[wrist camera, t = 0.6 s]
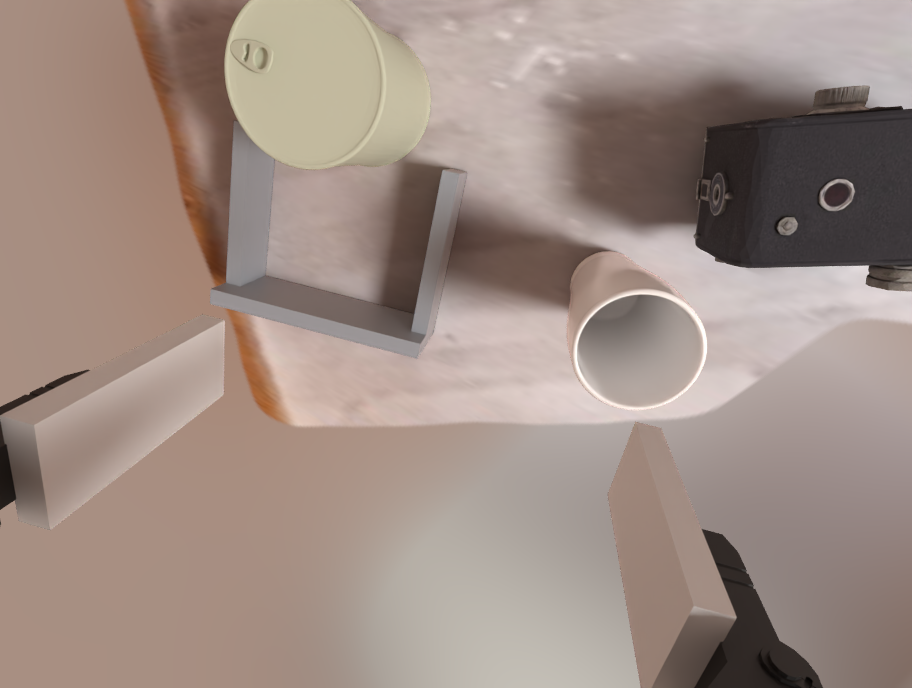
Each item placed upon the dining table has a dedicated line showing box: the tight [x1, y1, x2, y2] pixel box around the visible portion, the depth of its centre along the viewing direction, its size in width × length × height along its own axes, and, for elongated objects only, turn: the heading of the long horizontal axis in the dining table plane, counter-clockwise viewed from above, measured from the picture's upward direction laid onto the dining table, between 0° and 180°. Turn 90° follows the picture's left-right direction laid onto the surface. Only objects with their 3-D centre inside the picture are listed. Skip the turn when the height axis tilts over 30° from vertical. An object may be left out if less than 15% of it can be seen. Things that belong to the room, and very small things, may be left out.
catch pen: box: [210, 121, 467, 359], centre depth 39 cm, size 13×16×6 cm
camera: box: [694, 86, 912, 291], centre depth 31 cm, size 11×11×15 cm
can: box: [224, 0, 431, 170], centre depth 33 cm, size 9×9×12 cm
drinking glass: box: [567, 251, 707, 410], centre depth 33 cm, size 7×7×15 cm
